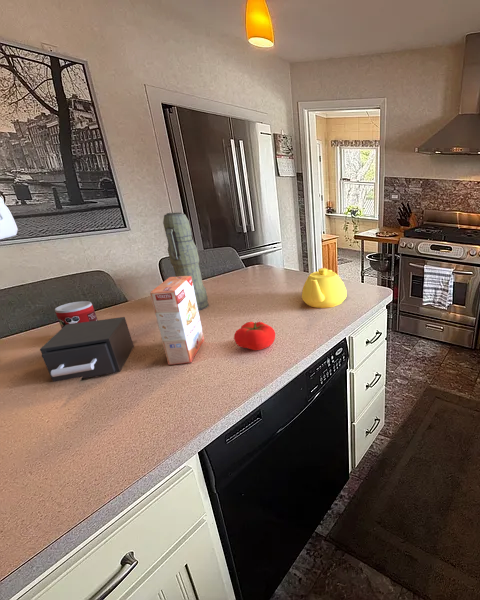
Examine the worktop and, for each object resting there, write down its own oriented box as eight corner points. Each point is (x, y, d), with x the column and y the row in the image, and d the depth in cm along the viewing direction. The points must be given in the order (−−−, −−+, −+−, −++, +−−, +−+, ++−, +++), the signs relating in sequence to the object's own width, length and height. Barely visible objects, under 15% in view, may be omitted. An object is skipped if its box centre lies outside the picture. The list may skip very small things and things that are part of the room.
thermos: (213, 300, 131) (195, 211, 118) (202, 312, 120) (180, 215, 107) (189, 302, 129) (168, 211, 117) (176, 313, 118) (151, 215, 106)
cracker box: (193, 363, 88) (175, 290, 80) (167, 366, 86) (147, 292, 79) (206, 339, 100) (192, 274, 93) (184, 342, 99) (167, 276, 91)
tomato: (259, 356, 91) (256, 336, 89) (229, 349, 95) (226, 329, 93) (282, 341, 100) (280, 322, 98) (254, 335, 103) (251, 316, 101)
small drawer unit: (120, 371, 84) (108, 338, 80) (54, 384, 78) (39, 349, 75) (134, 346, 96) (124, 316, 92) (78, 355, 91) (66, 324, 87)
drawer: (109, 381, 78) (98, 353, 75) (45, 394, 73) (31, 364, 71) (128, 348, 93) (120, 323, 90) (76, 356, 88) (66, 331, 85)
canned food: (62, 342, 97) (48, 308, 94) (93, 331, 104) (82, 299, 100) (76, 347, 95) (63, 312, 91) (108, 335, 102) (97, 303, 98)
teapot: (338, 315, 119) (336, 280, 114) (291, 313, 120) (287, 278, 115) (352, 292, 142) (350, 262, 137) (312, 291, 143) (309, 261, 138)
